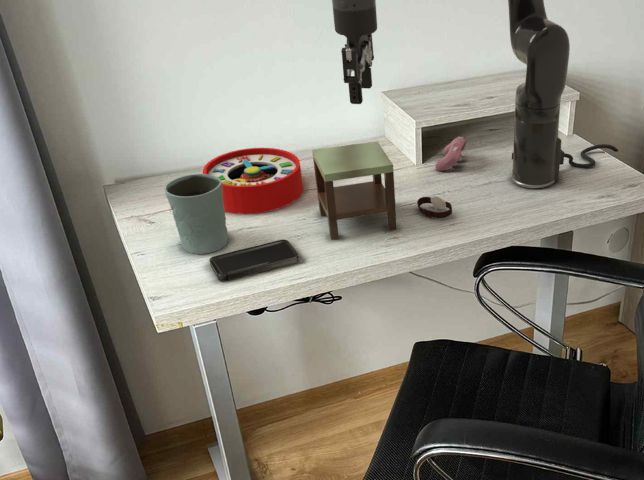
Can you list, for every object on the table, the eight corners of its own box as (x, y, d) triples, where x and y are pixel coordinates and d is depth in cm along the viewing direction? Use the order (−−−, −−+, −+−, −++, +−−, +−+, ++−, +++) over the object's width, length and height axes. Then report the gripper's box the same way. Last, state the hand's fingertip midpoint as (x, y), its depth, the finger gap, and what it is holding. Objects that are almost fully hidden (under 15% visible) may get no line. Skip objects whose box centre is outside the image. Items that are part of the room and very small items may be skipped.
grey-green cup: (182, 260, 150) (168, 200, 143) (174, 236, 158) (160, 178, 151) (237, 248, 154) (226, 190, 146) (227, 225, 161) (215, 169, 154)
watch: (456, 213, 164) (456, 196, 162) (444, 222, 161) (444, 206, 159) (424, 204, 168) (424, 188, 166) (412, 213, 164) (411, 197, 162)
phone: (207, 257, 149) (286, 238, 154) (208, 263, 149) (287, 243, 155) (219, 277, 143) (300, 256, 148) (220, 282, 144) (301, 261, 149)
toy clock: (216, 195, 159) (192, 158, 173) (221, 222, 162) (198, 184, 177) (313, 174, 166) (283, 141, 181) (316, 200, 170) (286, 165, 184)
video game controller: (451, 179, 181) (465, 153, 177) (433, 169, 180) (446, 143, 176) (459, 161, 189) (473, 136, 184) (442, 152, 188) (455, 126, 184)
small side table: (381, 203, 168) (377, 141, 160) (396, 229, 159) (393, 164, 151) (319, 212, 165) (312, 149, 157) (331, 240, 156) (324, 174, 148)
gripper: (366, 14, 135) (373, 109, 145) (383, -7, 147) (388, 83, 156) (322, 13, 136) (332, 108, 146) (342, -8, 148) (350, 82, 157)
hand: (361, 95), depth 151 cm, fingers open, 8 cm apart
